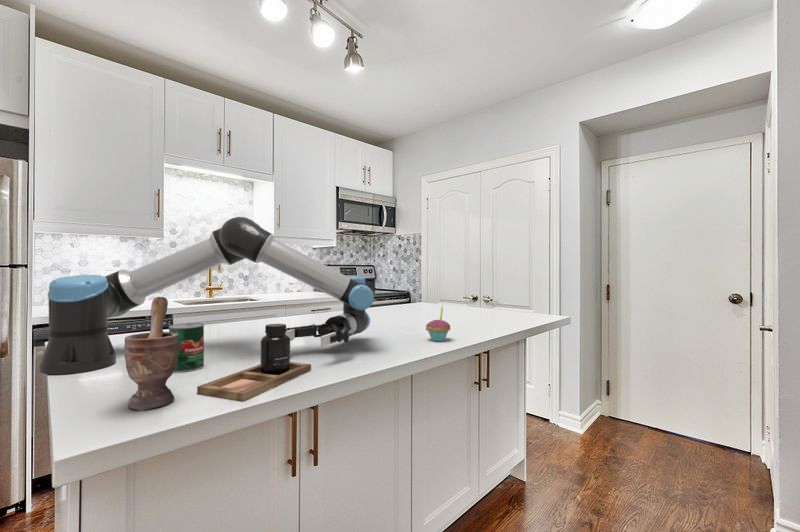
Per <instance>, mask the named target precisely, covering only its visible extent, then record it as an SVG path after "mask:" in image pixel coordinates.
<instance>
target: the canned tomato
mask: <svg viewBox="0 0 800 532" xmlns="http://www.w3.org/2000/svg"><path fill="white" fill-rule="evenodd" d="M168 332H172V333H177V334H178V358H177V363H176V366H175V370H174V372H173V373H188V372H193V371H194V372H195V371H197V370H200V369H203V368H204V367H205V362H204V361H205V354H204V353H205V352H204V351H205V345H204V344H205V336H204V334H205V324H204V323H202V322H185V323H184V322H183V323H176V324H171V325H169V326H168Z"/></svg>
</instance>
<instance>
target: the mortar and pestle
mask: <svg viewBox="0 0 800 532" xmlns="http://www.w3.org/2000/svg"><path fill="white" fill-rule="evenodd" d="M168 305H169V302H168V299H167V297H163V296H156V297H154V298H153V299H152V301H151V306H150V329H149V332H143V333H136V334H131V335H128V336H127V335H126V336H125V337H124V351H125V352H124V360H125V361H124V362H125V369H126V371H127V375H128V377H129V378H130V380H131V381H133V382H134V383H135V384H136V385H137V391H136V392H135V393H134V394H132V395H131V397H130V398H129V400H128V408H129V409H132V410H135V411H140V412H143V411H147V410H151V409H155V408H159V407H163V406H166V405H169V404H171V403H173V402H174V401H175V395H174V394H173V392H172V391H171V389H170V388H169V387H168V386H167V385H166V384H167V381H168V379H170V377H172V376H173V374H174V373H175V372H174V370H175V366H176V363H177V358H178V334H177V333H172V332H169V331H163V330H164V329H163V326H164V323H165V318H166V314H167V310H168Z"/></svg>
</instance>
